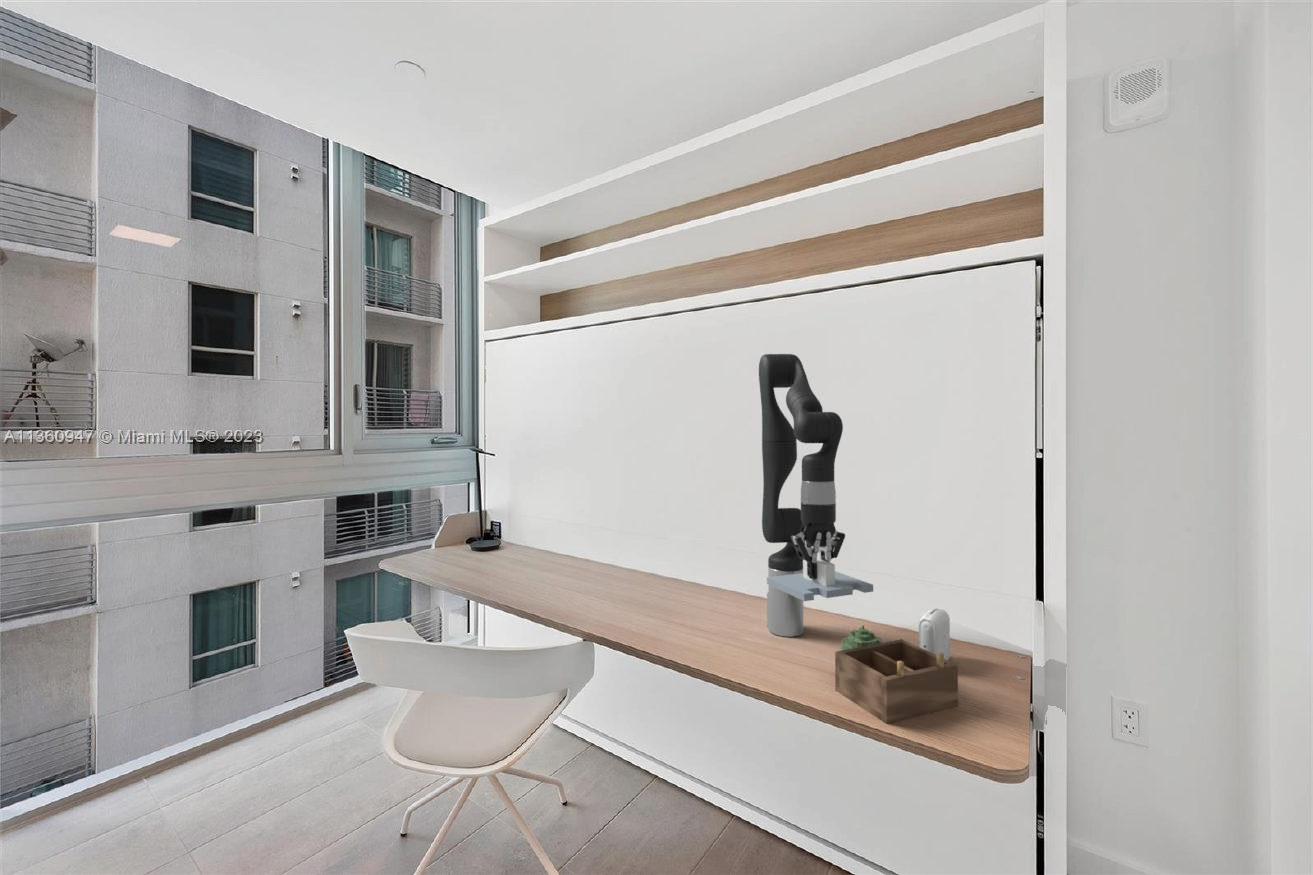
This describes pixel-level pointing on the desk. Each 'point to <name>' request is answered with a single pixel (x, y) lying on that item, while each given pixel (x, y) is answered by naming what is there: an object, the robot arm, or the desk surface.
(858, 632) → the decorative artifact
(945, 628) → the photo printer
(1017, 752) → the desk surface
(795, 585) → the notched blue lid
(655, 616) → the desk surface
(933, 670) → the wooden box with compartments
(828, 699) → the desk surface
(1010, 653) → the desk surface
